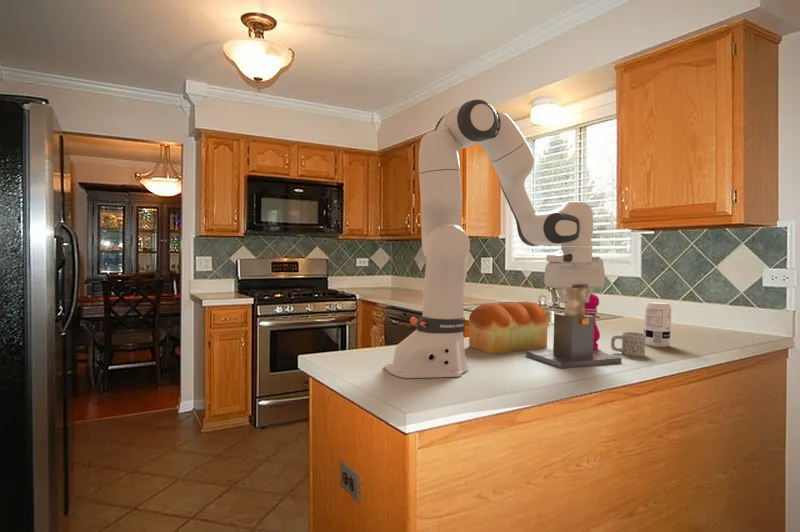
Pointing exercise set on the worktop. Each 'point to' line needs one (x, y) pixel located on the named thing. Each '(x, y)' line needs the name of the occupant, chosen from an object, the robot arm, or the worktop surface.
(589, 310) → the pink tall rounded piece
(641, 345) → the mug
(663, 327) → the supplement can
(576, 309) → the column
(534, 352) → the stand
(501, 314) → the bread
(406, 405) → the worktop surface
